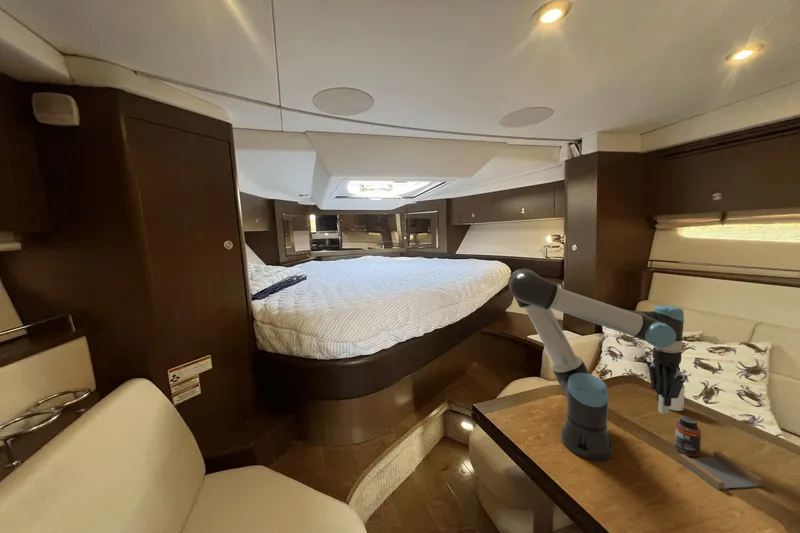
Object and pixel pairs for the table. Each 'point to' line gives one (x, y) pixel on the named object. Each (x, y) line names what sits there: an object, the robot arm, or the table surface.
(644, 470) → the table surface
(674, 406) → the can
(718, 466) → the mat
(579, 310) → the robot arm
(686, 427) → the supplement bottle
